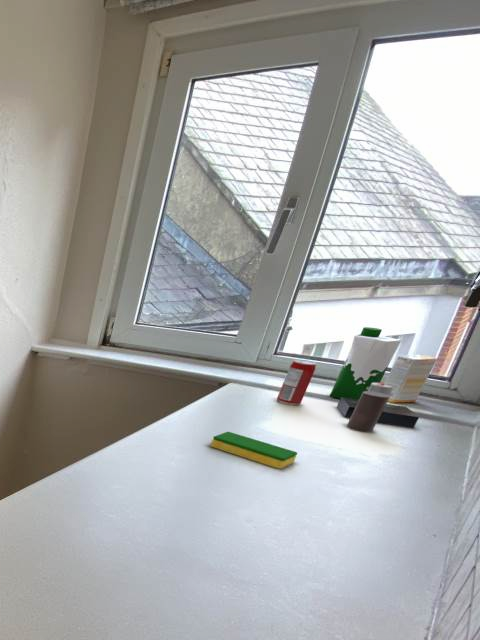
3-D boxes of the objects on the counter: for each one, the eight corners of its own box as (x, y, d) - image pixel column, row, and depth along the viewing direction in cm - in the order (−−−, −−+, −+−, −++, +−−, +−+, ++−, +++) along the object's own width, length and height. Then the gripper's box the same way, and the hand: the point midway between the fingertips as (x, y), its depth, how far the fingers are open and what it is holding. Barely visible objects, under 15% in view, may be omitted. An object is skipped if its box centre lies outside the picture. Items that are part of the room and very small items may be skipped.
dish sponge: (279, 469, 113) (284, 458, 112) (209, 446, 123) (213, 436, 122) (293, 462, 116) (298, 452, 115) (224, 440, 127) (228, 431, 126)
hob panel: (401, 417, 148) (407, 406, 146) (413, 428, 140) (419, 416, 138) (336, 407, 154) (341, 396, 152) (344, 417, 146) (349, 406, 144)
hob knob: (385, 408, 144) (396, 387, 141) (363, 405, 146) (374, 384, 143) (381, 404, 147) (391, 383, 145) (360, 401, 149) (370, 380, 147)
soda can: (301, 402, 156) (319, 361, 151) (298, 406, 153) (316, 364, 147) (277, 398, 160) (294, 357, 154) (274, 401, 156) (291, 360, 151)
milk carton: (340, 392, 168) (371, 326, 159) (376, 401, 160) (410, 332, 151) (324, 395, 164) (354, 327, 155) (359, 404, 157) (393, 334, 148)
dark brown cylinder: (369, 427, 139) (386, 393, 135) (374, 433, 135) (392, 398, 131) (344, 423, 141) (360, 389, 137) (349, 429, 137) (365, 394, 133)
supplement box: (398, 397, 165) (420, 354, 159) (415, 402, 161) (439, 358, 155) (375, 397, 164) (397, 354, 158) (392, 403, 160) (415, 358, 154)
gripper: (480, 238, 138) (446, 304, 145) (505, 239, 127) (467, 311, 134) (522, 239, 135) (485, 307, 142) (552, 241, 124) (510, 314, 131)
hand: (476, 309), depth 138 cm, fingers open, 8 cm apart
